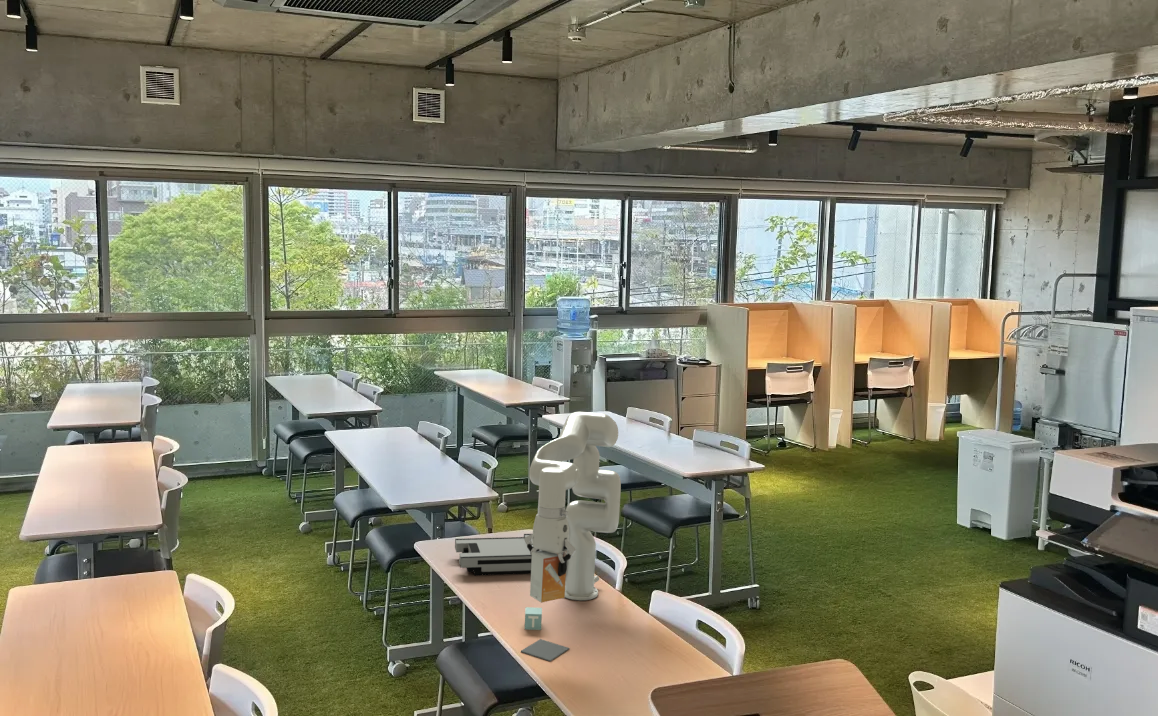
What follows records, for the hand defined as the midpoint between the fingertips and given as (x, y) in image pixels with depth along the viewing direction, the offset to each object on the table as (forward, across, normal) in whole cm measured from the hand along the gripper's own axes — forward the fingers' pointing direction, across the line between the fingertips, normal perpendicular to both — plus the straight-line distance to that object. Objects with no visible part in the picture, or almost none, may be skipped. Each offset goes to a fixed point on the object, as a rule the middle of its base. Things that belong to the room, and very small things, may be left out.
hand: (548, 571), depth 271 cm
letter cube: (+24, +12, -12) cm, 29 cm away
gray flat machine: (+24, +51, -49) cm, 75 cm away
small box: (+8, 0, 0) cm, 8 cm away
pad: (+24, 0, 0) cm, 24 cm away
